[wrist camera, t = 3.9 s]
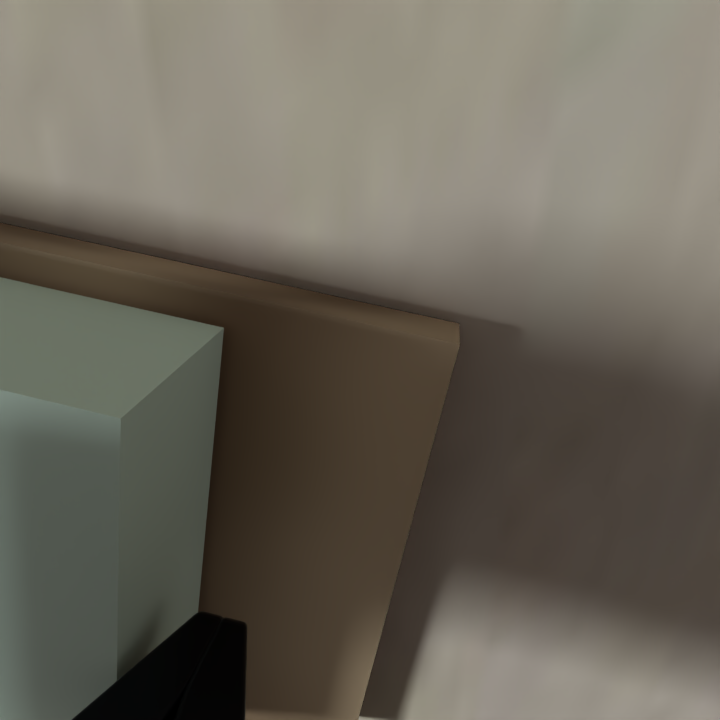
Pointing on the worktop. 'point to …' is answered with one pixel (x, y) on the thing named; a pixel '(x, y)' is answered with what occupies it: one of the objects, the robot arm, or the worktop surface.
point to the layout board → (289, 457)
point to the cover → (97, 490)
